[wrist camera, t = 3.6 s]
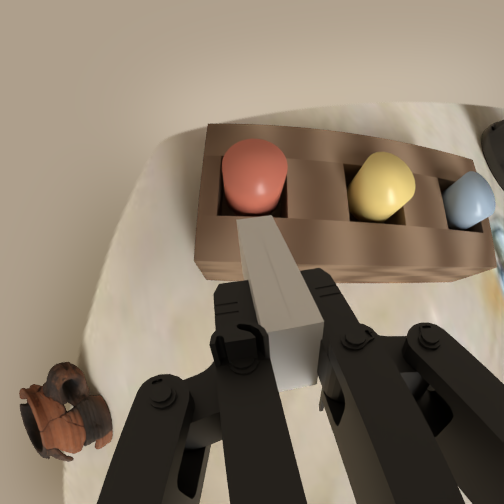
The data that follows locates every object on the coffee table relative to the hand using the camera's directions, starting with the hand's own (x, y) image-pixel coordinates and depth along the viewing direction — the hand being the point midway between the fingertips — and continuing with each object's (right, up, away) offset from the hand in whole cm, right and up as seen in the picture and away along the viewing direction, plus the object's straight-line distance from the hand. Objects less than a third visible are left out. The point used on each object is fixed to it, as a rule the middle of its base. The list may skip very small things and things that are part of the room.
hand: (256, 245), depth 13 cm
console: (+10, +2, +17) cm, 20 cm away
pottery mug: (-19, -17, +11) cm, 28 cm away
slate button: (+20, +4, +11) cm, 23 cm away
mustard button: (+10, +4, +11) cm, 15 cm away
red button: (0, +4, +11) cm, 12 cm away
